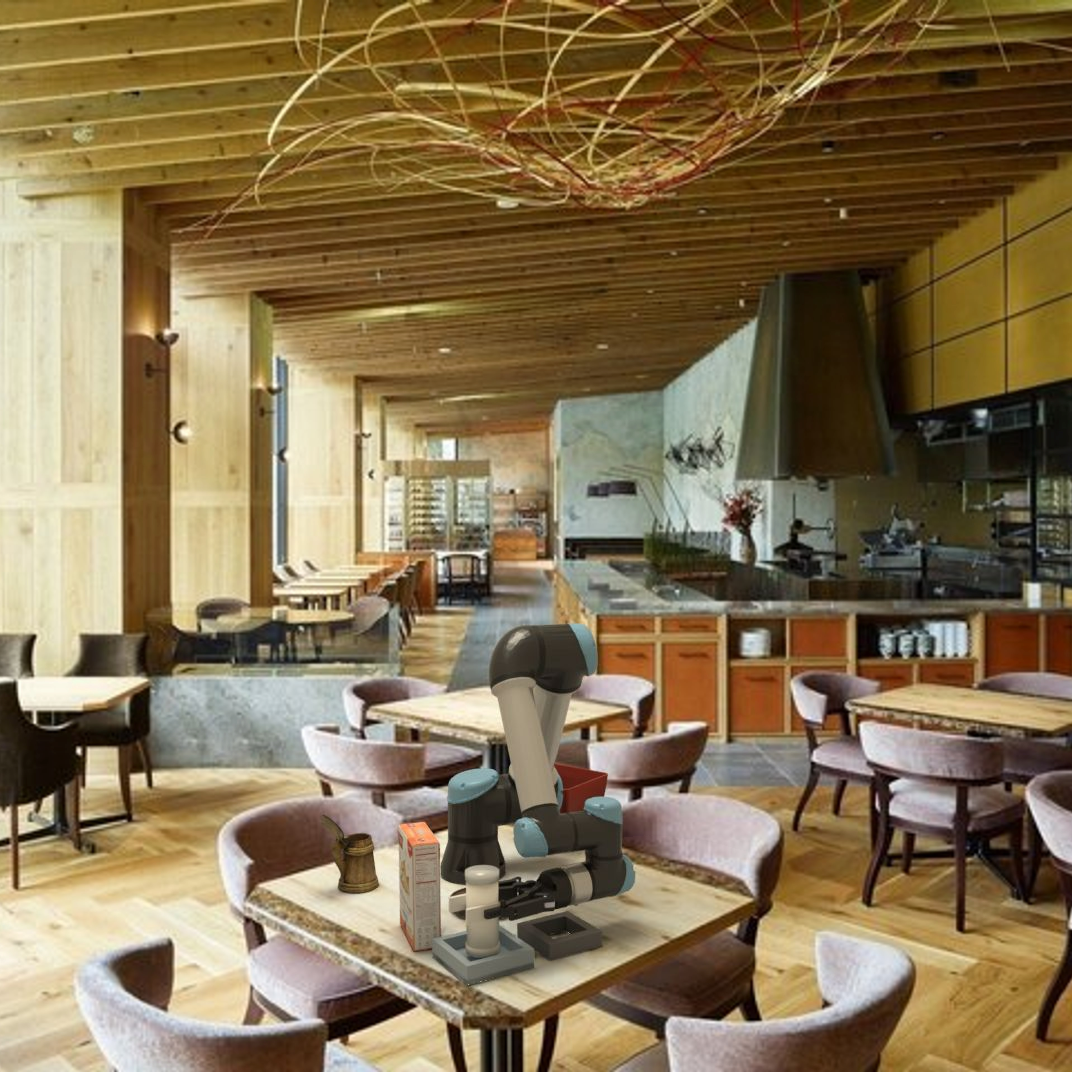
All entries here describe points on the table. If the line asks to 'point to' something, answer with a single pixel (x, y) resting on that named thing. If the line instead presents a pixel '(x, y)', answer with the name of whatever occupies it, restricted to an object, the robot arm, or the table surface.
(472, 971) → the tray
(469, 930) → the cylinder
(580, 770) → the plant pot
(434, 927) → the cracker box
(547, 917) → the dark grey square frame
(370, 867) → the wooden mug
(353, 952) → the table surface
